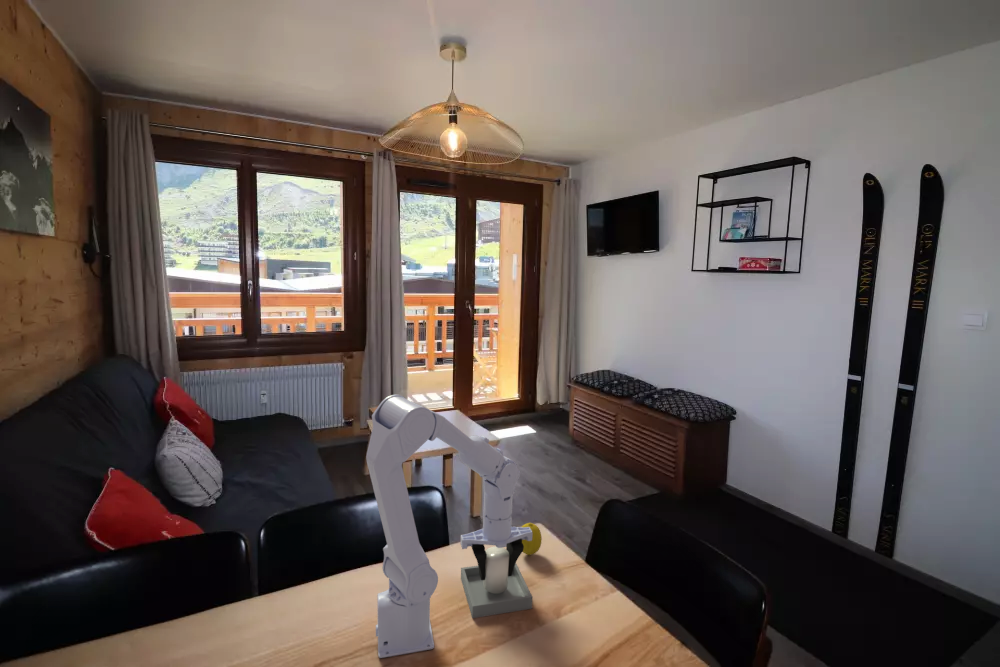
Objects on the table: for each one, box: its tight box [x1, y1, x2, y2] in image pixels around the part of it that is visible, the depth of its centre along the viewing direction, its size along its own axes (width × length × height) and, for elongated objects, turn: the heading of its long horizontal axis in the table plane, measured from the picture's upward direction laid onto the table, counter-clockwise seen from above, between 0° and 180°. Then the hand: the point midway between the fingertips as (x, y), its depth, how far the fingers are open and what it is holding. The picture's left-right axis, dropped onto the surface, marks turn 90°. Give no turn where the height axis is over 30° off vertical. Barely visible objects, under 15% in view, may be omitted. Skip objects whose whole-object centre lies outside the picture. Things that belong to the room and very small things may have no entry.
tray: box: [460, 562, 533, 619], centre depth 100 cm, size 12×12×2 cm
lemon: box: [521, 522, 543, 556], centre depth 113 cm, size 6×6×8 cm
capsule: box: [483, 546, 509, 593], centre depth 99 cm, size 5×5×7 cm
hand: (495, 575), depth 100 cm, fingers closed on capsule, 5 cm apart
